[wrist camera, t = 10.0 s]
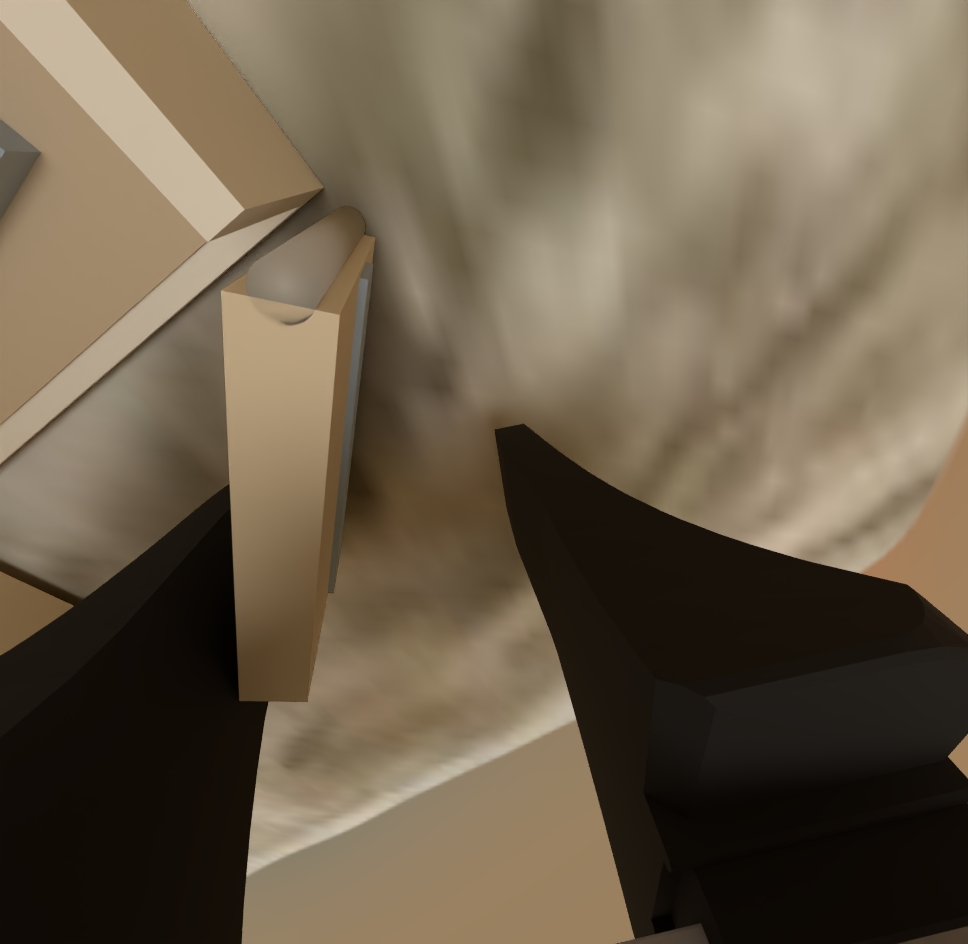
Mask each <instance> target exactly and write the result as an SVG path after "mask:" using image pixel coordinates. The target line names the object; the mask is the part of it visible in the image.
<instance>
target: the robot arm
mask: <svg viewBox="0 0 968 944" xmlns="http://www.w3.org/2000/svg"><path fill="white" fill-rule="evenodd" d="M495 436H496V442H497V449H498V455H499V462H500V468H501V475H502V482H503V488H504V495H505V501H506V507H507V511H508V515H509V519H510V523H511V527H512V531H513V534H514V538H515V542H516V546H517V548H518V551H519V553H520V556H521V559H522V561H523V564H524V566H525V569H526V571H527V574H528V577H529V579H530V582H531V584H532V587H533V589H534V592H535V594H536V597H537V599H538V602H539V605H540V607H541V610H542V612H543V615H544V617H545V620H546V622H547V625H548V627H549V630H550V633H551V635H552V638H553V641H554V644H555V647H556V650H557V653H558V656H559V659H560V663H561V667H562V670H563V674H564V677H565V681H566V684H567V688H568V691H569V695H570V698H571V702H572V705H573V709H574V712H575V716H576V720H577V723H578V727H579V730H580V734H581V738H582V741H583V745H584V748H585V752H586V756H587V759H588V763H589V767H590V771H591V774H592V778H593V782H594V785H595V789H596V792H597V796H598V800H599V804H600V808H601V811H602V815H603V818H604V822H605V826H606V830H607V834H608V838H609V842H610V845H611V849H612V853H613V857H614V861H615V864H616V868H617V872H618V876H619V879H620V884H621V887H622V891H623V895H624V899H625V903H626V907H627V911H628V914H629V918H630V922H631V926H632V930H633V933H634V937H635V939H633V940H629V941H625V942H621V943H617V944H968V778H967V777H966V776H965V775H964V774H963V773H962V772H961V771H960V770H959V768H957V766H956V765H955V764H954V763H953V762H952V761H951V760H950V759H949V758H948V755H949V754H950V753H951V752H952V751H953V750H954V749H955V748H956V746H957V745H958V744H959V743H960V742H961V741H962V740H963V739H964V737H965V736H966V735H967V734H968V634H967V633H965V632H964V631H963V630H962V629H961V628H959V627H958V626H957V625H956V624H954V623H953V622H952V621H951V620H950V619H949V618H948V617H946V616H945V615H944V614H943V613H942V612H940V611H939V610H938V609H937V608H936V607H934V606H933V605H932V604H931V603H930V602H928V601H927V600H926V599H925V598H924V597H922V596H921V595H920V594H919V593H917V592H916V591H915V590H914V589H912V588H911V587H910V586H908V585H906V584H902V583H898V582H894V581H889V580H885V579H881V578H877V577H872V576H868V575H864V574H860V573H855V572H851V571H847V570H843V569H838V568H834V567H830V566H826V565H821V564H817V563H813V562H809V561H805V560H801V559H798V558H794V557H791V556H787V555H784V554H781V553H777V552H774V551H771V550H767V549H764V548H760V547H757V546H754V545H750V544H747V543H744V542H741V541H738V540H735V539H732V538H729V537H726V536H723V535H720V534H718V533H715V532H712V531H710V530H707V529H705V528H702V527H699V526H697V525H694V524H691V523H689V522H686V521H684V520H681V519H679V518H676V517H674V516H672V515H669V514H667V513H665V512H662V511H660V510H658V509H656V508H654V507H652V506H650V505H648V504H646V503H643V502H641V501H639V500H637V499H635V498H633V497H631V496H629V495H627V494H625V493H623V492H622V491H620V490H618V489H616V488H614V487H613V486H611V485H609V484H607V483H606V482H604V481H602V480H601V479H599V478H597V477H596V476H594V475H592V474H591V473H589V472H588V471H586V470H585V469H583V468H582V467H580V466H579V465H577V464H576V463H575V462H573V461H572V460H570V459H569V458H567V457H566V456H565V455H563V454H562V453H561V452H559V451H558V450H557V449H555V448H554V447H553V446H551V445H550V444H549V443H547V442H546V441H545V440H544V439H542V438H541V437H540V436H539V435H537V434H536V433H535V432H534V431H532V430H531V429H530V428H529V427H527V426H526V425H524V424H520V425H515V426H510V427H505V428H500V429H495ZM267 706H268V701H239V682H238V659H237V637H236V614H235V592H234V569H233V547H232V524H231V502H230V484H229V485H227V486H226V487H224V488H223V489H222V490H220V491H219V492H218V493H216V494H215V495H214V496H212V497H211V498H210V499H208V500H207V501H206V502H205V503H203V504H202V505H201V506H200V507H199V508H197V509H196V510H195V511H194V512H193V513H191V514H190V515H189V516H188V517H187V518H185V519H184V520H183V521H182V522H181V523H179V524H178V525H177V526H176V527H174V528H173V529H172V530H171V531H170V532H168V533H167V534H166V535H165V536H164V537H162V538H161V539H160V540H159V541H158V542H156V543H155V544H154V545H153V546H152V547H150V548H149V549H148V550H147V551H145V552H144V553H143V554H142V555H140V556H139V557H138V558H137V559H135V560H134V561H133V562H131V563H130V564H129V565H128V566H126V567H125V568H124V569H122V570H121V571H120V572H119V573H117V574H116V575H115V576H113V577H112V578H111V579H110V580H108V581H107V582H106V583H105V584H103V585H102V586H101V587H99V588H98V589H97V590H96V591H94V592H93V593H91V594H90V595H89V596H87V597H86V598H85V599H83V600H82V601H81V602H79V603H78V604H76V605H75V606H74V607H72V608H71V609H69V610H68V611H67V612H65V613H64V614H62V615H61V616H59V617H58V618H56V619H55V620H54V621H52V622H51V623H49V624H48V625H46V626H45V627H43V628H42V629H40V630H39V631H37V632H36V633H34V634H33V635H31V636H30V637H28V638H27V639H25V640H24V641H22V642H21V643H19V644H18V645H16V646H15V647H13V648H12V649H10V650H8V651H7V652H5V653H4V654H2V655H0V944H241V943H242V926H243V908H244V895H245V883H246V872H247V860H248V849H249V838H250V827H251V819H252V810H253V802H254V793H255V785H256V776H257V769H258V762H259V755H260V748H261V741H262V734H263V728H264V721H265V715H266V711H267Z"/></svg>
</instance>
